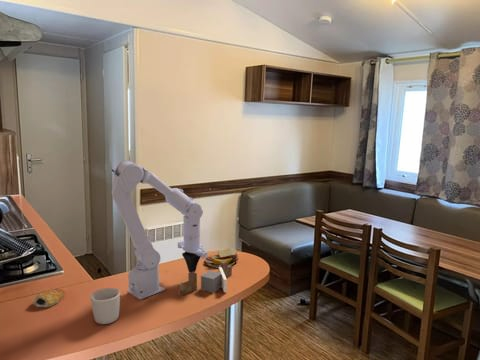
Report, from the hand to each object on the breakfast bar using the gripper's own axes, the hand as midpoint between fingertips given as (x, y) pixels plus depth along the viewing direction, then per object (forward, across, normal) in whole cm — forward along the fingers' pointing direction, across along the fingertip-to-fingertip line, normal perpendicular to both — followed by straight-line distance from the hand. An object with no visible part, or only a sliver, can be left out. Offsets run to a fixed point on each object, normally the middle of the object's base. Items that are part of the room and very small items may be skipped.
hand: (192, 271), depth 132 cm
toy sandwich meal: (+4, +5, -19) cm, 20 cm away
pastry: (+4, +19, +42) cm, 46 cm away
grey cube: (+3, -9, -1) cm, 10 cm away
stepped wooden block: (+3, -6, -2) cm, 7 cm away
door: (+3, -10, -5) cm, 12 cm away
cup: (+4, -2, +33) cm, 34 cm away
